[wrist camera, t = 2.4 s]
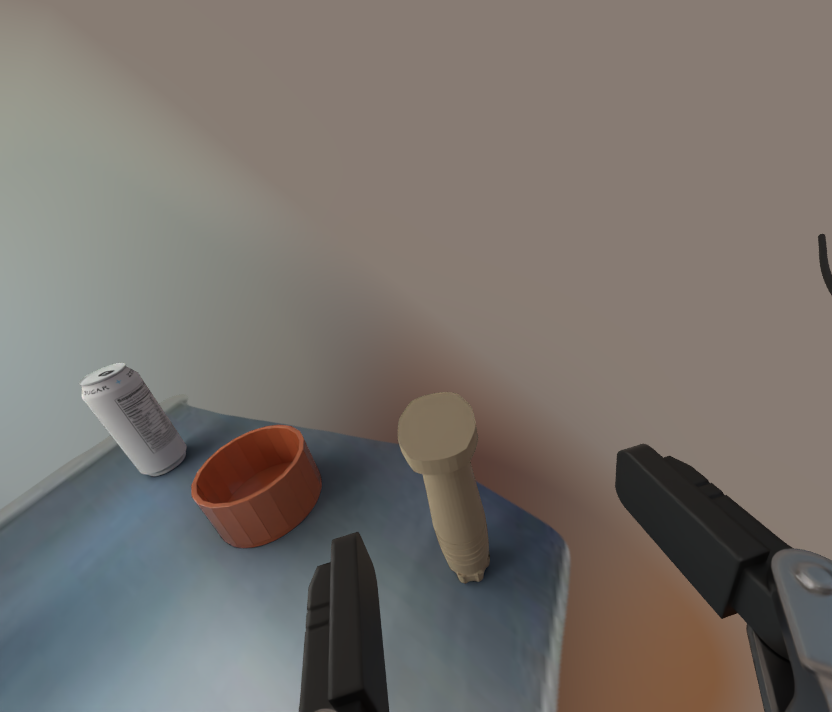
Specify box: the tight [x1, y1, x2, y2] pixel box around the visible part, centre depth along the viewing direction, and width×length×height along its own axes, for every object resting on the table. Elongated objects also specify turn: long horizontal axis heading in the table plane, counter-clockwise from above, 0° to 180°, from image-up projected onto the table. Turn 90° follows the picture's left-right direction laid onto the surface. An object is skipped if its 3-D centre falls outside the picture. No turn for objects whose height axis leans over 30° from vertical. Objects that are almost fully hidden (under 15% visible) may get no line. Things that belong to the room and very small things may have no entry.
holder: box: [191, 425, 322, 548], centre depth 40 cm, size 11×11×6 cm
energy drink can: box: [79, 363, 187, 476], centre depth 48 cm, size 6×6×15 cm
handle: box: [398, 392, 490, 583], centre depth 26 cm, size 5×6×15 cm
